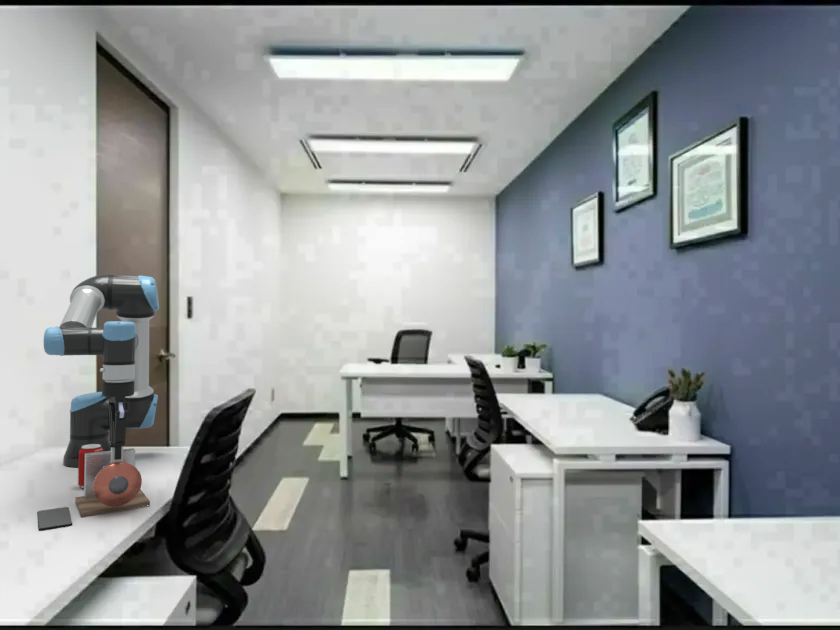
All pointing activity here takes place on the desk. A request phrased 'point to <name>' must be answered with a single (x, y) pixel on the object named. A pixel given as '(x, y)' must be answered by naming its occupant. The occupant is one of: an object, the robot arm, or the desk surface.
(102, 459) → the eye plate
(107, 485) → the copper knob thumbscrew
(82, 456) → the beverage can
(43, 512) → the smartphone
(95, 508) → the walnut board
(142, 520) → the desk surface
